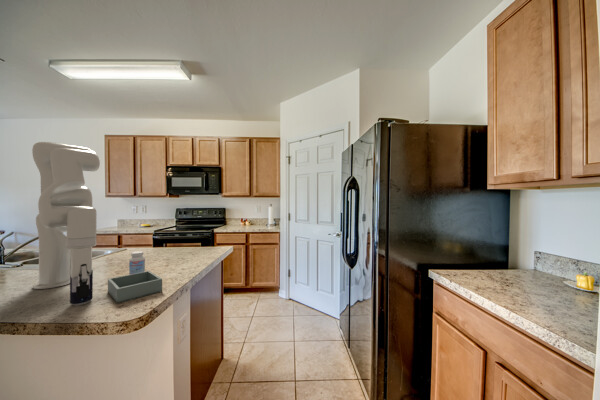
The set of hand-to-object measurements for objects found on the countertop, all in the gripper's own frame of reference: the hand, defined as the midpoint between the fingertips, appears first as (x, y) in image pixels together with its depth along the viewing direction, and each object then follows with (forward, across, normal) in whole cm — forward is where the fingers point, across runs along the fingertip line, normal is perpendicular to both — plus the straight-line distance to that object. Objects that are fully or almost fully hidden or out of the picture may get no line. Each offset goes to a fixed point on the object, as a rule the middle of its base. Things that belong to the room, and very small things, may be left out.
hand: (81, 294), depth 80 cm
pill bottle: (+3, -20, +21) cm, 29 cm away
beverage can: (+3, 0, 0) cm, 3 cm away
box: (+3, +2, +15) cm, 15 cm away
